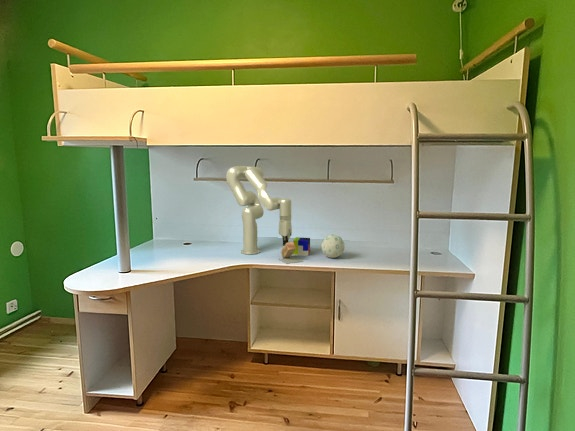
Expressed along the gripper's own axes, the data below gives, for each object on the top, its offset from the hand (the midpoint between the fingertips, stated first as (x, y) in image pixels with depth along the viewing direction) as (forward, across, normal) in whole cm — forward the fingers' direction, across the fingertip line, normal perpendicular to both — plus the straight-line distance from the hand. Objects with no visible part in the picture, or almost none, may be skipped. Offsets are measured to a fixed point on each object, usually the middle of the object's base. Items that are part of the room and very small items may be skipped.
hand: (285, 245), depth 256 cm
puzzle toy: (+8, -4, +15) cm, 18 cm away
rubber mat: (+8, +8, 0) cm, 11 cm away
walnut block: (+6, 0, 0) cm, 6 cm away
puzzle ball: (+8, +14, +28) cm, 32 cm away
